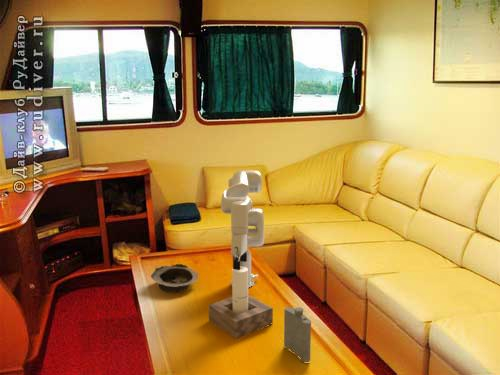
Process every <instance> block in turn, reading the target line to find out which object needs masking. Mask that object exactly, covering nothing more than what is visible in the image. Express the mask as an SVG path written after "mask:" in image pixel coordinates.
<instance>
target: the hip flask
mask: <svg viewBox="0 0 500 375" xmlns="http://www.w3.org/2000/svg"><path fill="white" fill-rule="evenodd" d="M283 311H284V313H283V314H284V316H283V319H284V320H283V321H284V324H283V325H284V326H283V327H284V328H283V329H284V330H283V332H284V333H283V342H284V343H283V347H284V346H285V347H286V348H288V349H290V350H291V351H292V352H294V353H295V354H296V355H297V356H299V357H300V358H301V360H302V361H303V362H309V361H310V362H311V340H312V339H311V338H312V337H311V335H312V330H311V329H312V327H311V326H312V321H311V320H310V318H309V317H307V316H306V315H305V314H303V313H304V308H303V307H301V306H300V307H299V306H296V307H294V308H293V307H290V306H286V307H284V310H283ZM292 352H291V353H292ZM296 355H295V356H296ZM297 356H296V357H297ZM301 360H300V361H301ZM302 361H301V362H302ZM303 362H302V363H303Z"/></svg>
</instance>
